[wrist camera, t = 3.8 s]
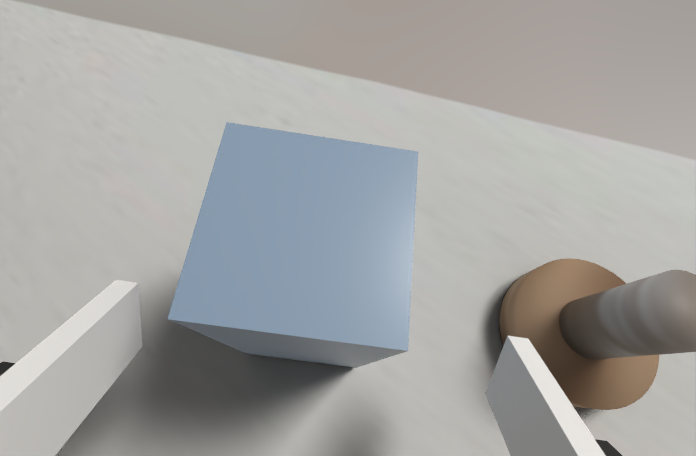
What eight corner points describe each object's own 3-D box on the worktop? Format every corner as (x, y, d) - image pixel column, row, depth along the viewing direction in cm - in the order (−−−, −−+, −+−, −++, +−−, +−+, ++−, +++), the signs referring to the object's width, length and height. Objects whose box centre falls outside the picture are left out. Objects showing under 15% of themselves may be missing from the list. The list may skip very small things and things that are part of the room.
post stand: (475, 346, 21) (562, 328, 14) (533, 244, 24) (630, 184, 17) (601, 439, 20) (769, 473, 13) (647, 320, 23) (805, 291, 16)
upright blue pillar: (246, 353, 20) (166, 319, 9) (268, 249, 22) (226, 122, 11) (355, 367, 20) (408, 350, 9) (366, 263, 23) (418, 151, 12)
